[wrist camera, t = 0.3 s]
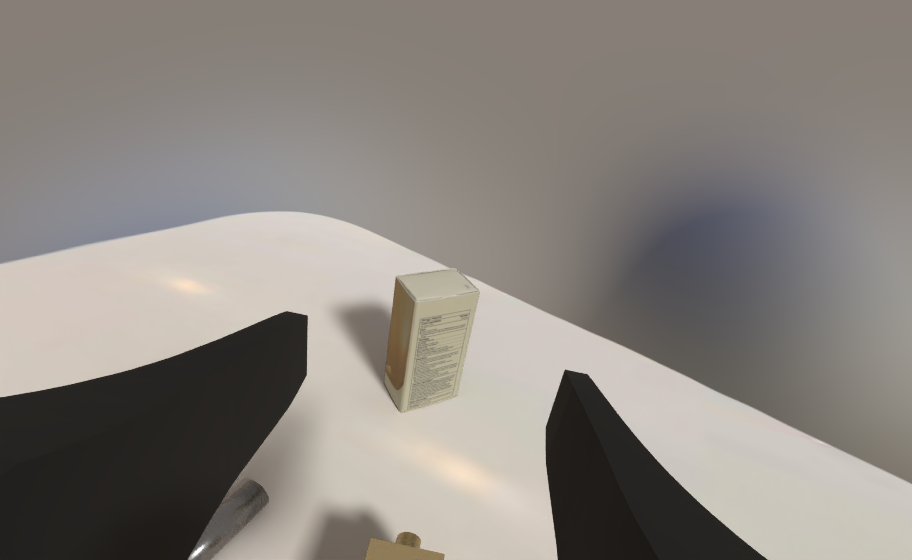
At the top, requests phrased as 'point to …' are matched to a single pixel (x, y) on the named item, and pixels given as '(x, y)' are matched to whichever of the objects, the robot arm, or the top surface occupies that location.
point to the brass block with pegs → (400, 549)
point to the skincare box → (428, 336)
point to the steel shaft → (230, 520)
